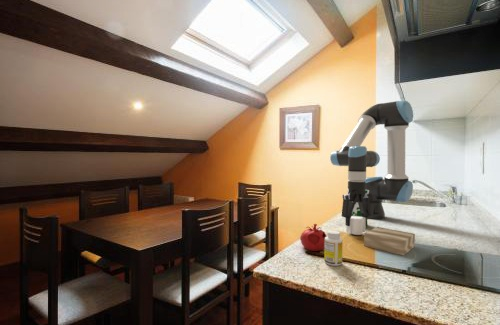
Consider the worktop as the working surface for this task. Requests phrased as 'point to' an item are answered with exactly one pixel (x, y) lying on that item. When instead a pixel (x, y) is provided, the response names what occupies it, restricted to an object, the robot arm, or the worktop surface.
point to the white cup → (357, 225)
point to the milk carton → (357, 207)
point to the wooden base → (389, 240)
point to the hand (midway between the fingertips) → (355, 232)
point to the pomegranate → (313, 239)
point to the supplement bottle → (333, 248)
